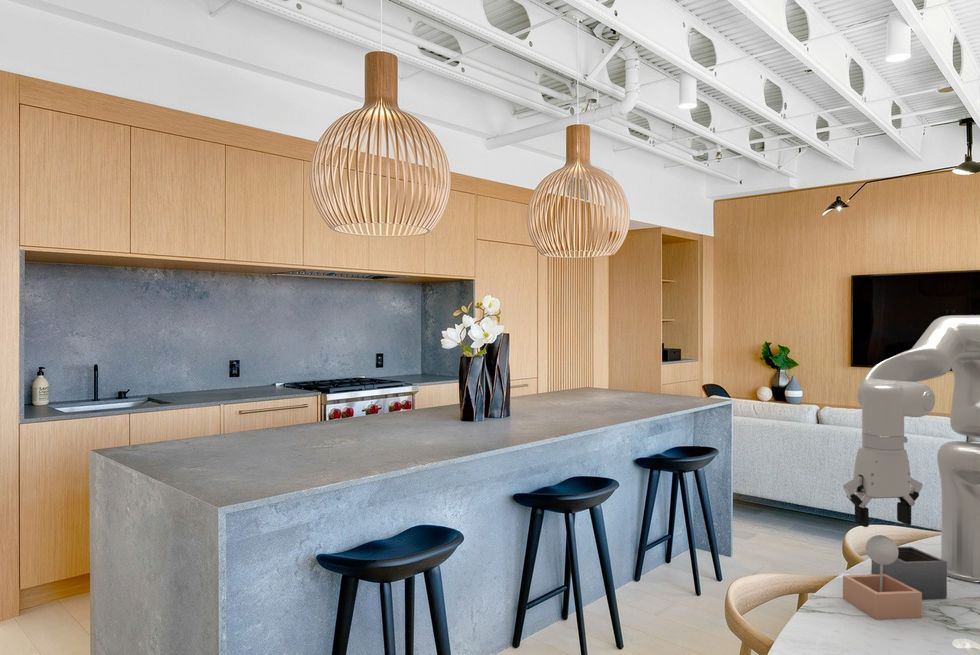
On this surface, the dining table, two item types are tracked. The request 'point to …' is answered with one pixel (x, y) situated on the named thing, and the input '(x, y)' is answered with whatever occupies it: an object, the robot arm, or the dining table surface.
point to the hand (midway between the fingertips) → (883, 524)
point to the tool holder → (882, 596)
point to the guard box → (918, 572)
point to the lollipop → (882, 552)
